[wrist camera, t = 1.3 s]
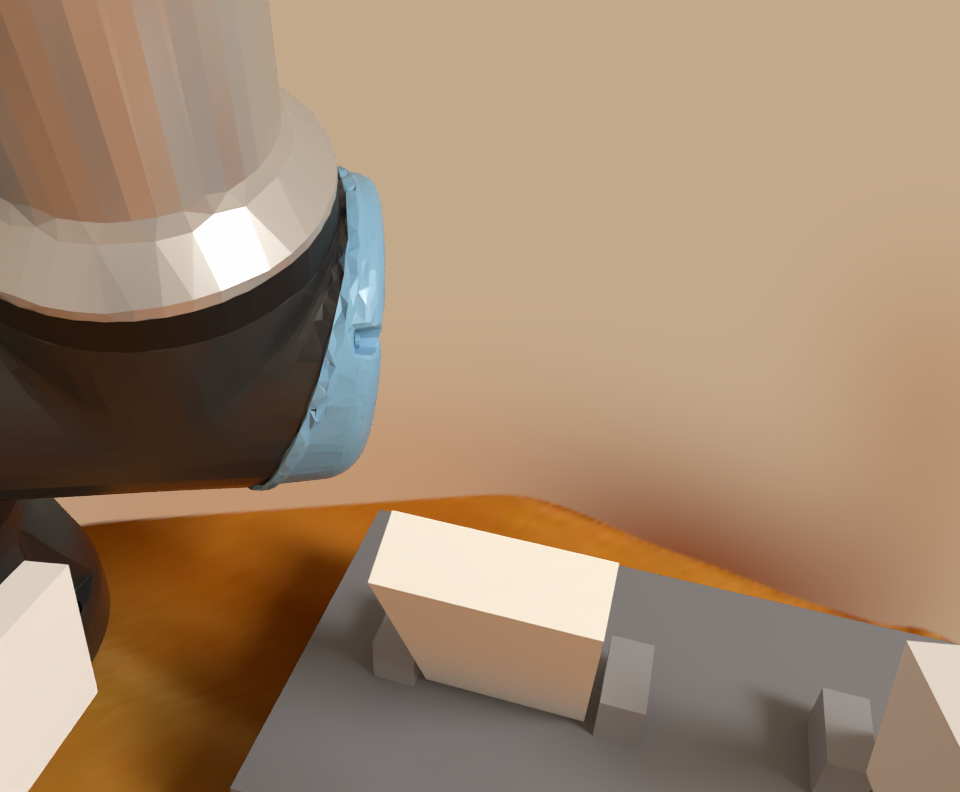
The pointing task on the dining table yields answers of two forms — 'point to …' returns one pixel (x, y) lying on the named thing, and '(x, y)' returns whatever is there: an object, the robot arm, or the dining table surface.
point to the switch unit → (590, 703)
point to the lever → (496, 611)
